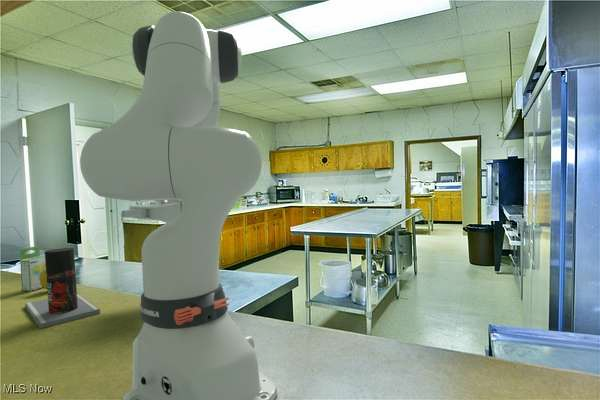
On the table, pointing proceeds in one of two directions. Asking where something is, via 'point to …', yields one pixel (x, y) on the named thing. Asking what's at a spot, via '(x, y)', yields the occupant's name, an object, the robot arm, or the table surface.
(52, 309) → the deodorant
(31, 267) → the ink box
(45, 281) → the lemon
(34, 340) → the table surface
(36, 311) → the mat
